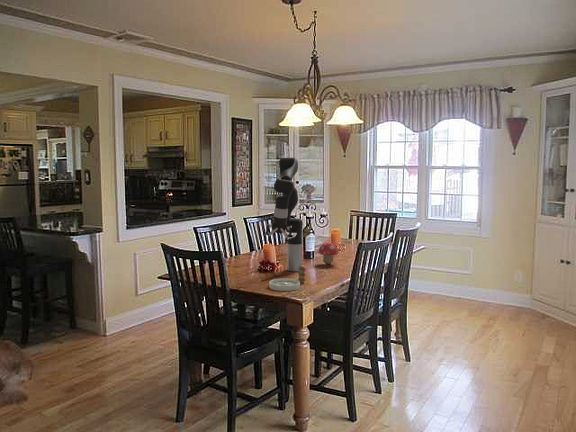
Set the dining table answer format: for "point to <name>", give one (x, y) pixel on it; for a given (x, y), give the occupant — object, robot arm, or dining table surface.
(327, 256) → the decorative mushroom
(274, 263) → the decorative berry sprig
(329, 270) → the dining table surface
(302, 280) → the bead stack
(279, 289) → the tray
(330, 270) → the dining table surface
